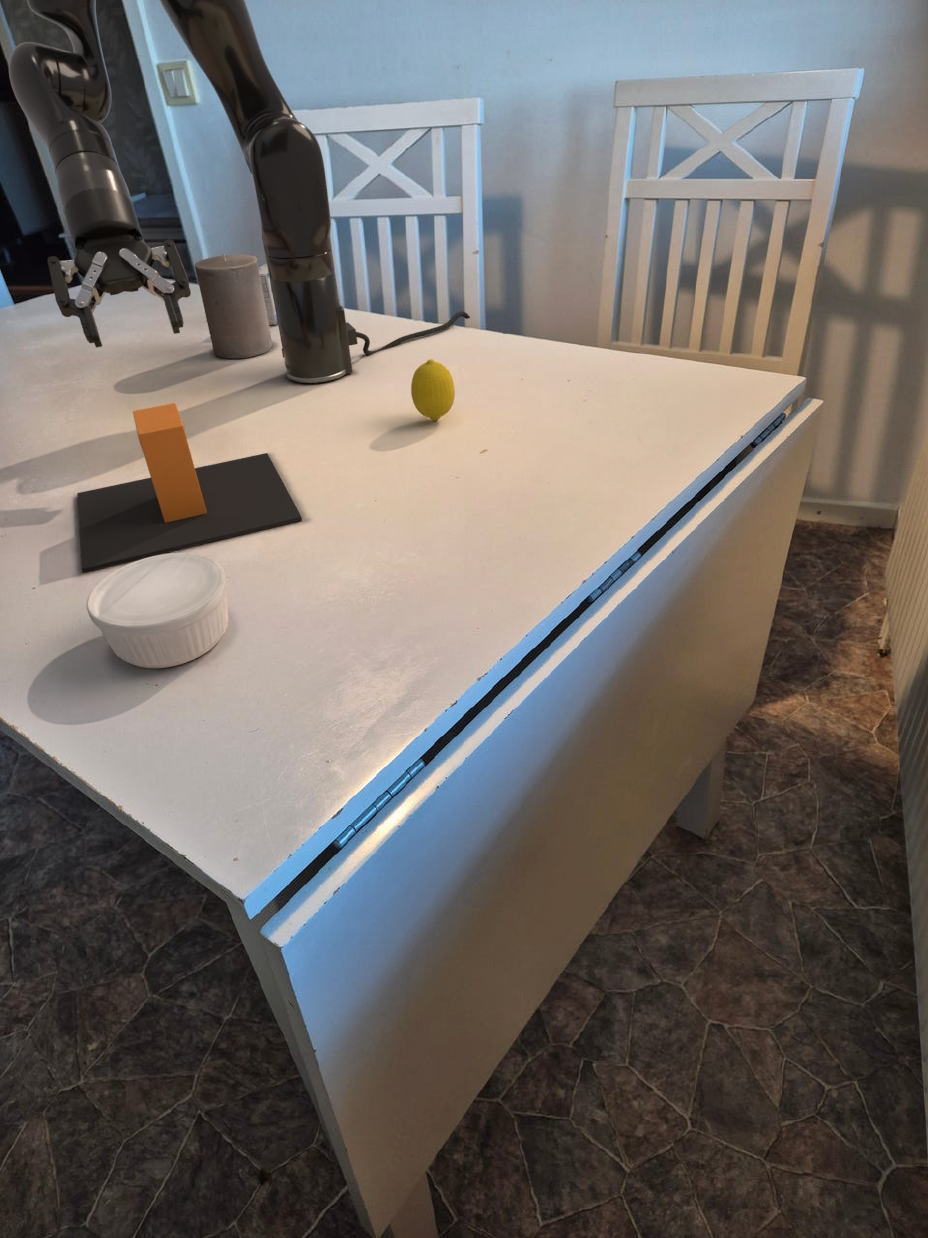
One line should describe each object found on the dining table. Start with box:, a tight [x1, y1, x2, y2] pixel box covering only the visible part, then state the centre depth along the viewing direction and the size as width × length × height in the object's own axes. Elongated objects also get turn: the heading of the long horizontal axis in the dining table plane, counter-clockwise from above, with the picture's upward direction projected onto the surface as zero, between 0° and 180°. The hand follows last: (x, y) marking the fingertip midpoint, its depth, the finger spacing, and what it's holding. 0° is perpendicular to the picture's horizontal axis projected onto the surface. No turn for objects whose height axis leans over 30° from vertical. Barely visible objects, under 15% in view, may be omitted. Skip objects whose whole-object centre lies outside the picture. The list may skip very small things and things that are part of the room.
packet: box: [132, 402, 207, 523], centre depth 86 cm, size 4×7×10 cm, turn 22°
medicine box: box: [258, 263, 278, 326], centre depth 145 cm, size 8×4×9 cm, turn 168°
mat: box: [76, 452, 303, 573], centre depth 89 cm, size 22×18×1 cm
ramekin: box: [86, 552, 229, 669], centre depth 68 cm, size 11×11×5 cm
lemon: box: [410, 359, 456, 422], centre depth 103 cm, size 6×6×8 cm
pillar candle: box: [194, 251, 273, 360], centre depth 129 cm, size 10×10×15 cm
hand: (137, 336), depth 91 cm, fingers open, 8 cm apart
